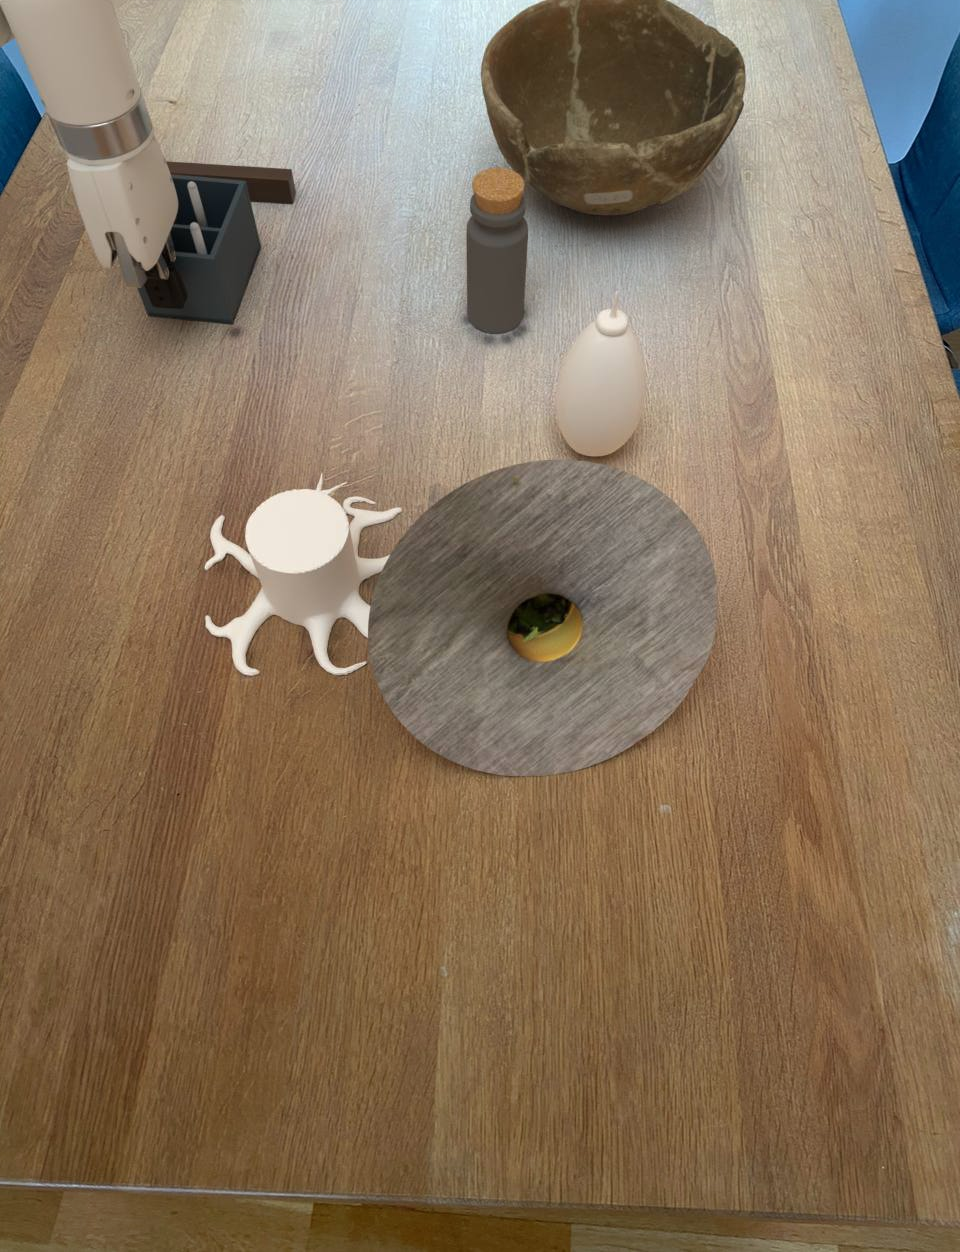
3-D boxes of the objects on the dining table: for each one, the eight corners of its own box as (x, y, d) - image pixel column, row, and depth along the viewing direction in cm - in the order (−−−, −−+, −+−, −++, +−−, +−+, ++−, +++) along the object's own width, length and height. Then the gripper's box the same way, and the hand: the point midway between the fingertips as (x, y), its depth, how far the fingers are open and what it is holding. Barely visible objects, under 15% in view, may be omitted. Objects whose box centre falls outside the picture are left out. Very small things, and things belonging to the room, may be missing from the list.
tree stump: (446, 513, 85) (443, 454, 78) (392, 704, 75) (384, 656, 68) (234, 476, 87) (213, 415, 80) (156, 658, 77) (124, 607, 70)
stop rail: (292, 204, 106) (288, 180, 103) (153, 195, 107) (145, 171, 104) (296, 192, 107) (291, 168, 104) (158, 184, 108) (150, 160, 105)
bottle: (527, 298, 99) (535, 166, 86) (518, 337, 96) (525, 207, 83) (472, 291, 99) (472, 159, 86) (462, 330, 96) (460, 200, 83)
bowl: (651, 308, 98) (678, 177, 85) (435, 218, 105) (429, 85, 92) (757, 168, 110) (795, 34, 97) (556, 95, 117) (566, -39, 104)
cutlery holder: (232, 324, 96) (210, 246, 88) (147, 316, 97) (117, 237, 89) (261, 247, 102) (242, 167, 94) (181, 239, 103) (155, 159, 95)
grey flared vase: (689, 678, 84) (657, 400, 76) (746, 771, 68) (714, 429, 60) (416, 726, 85) (356, 456, 77) (406, 829, 69) (328, 500, 61)
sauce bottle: (639, 475, 87) (675, 324, 71) (555, 479, 87) (573, 329, 71) (626, 411, 91) (658, 255, 75) (546, 415, 91) (561, 259, 75)
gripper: (86, 67, 80) (154, 250, 96) (25, 176, 72) (110, 355, 88) (171, 70, 79) (226, 254, 95) (119, 181, 72) (188, 360, 88)
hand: (170, 302), depth 92 cm, fingers closed
